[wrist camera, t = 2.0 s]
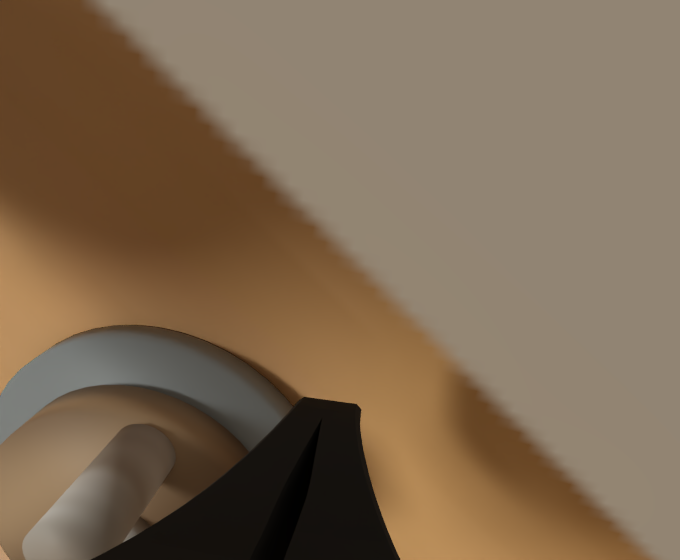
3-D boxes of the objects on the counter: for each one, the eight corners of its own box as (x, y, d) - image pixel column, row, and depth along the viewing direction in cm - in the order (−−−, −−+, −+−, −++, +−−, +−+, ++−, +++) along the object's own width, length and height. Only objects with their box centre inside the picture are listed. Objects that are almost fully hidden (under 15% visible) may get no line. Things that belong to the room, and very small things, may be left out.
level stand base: (-46, 432, 19) (-243, 574, 13) (155, 253, 15) (-5, 349, 9) (170, 629, 21) (80, 823, 15) (396, 521, 17) (385, 728, 11)
